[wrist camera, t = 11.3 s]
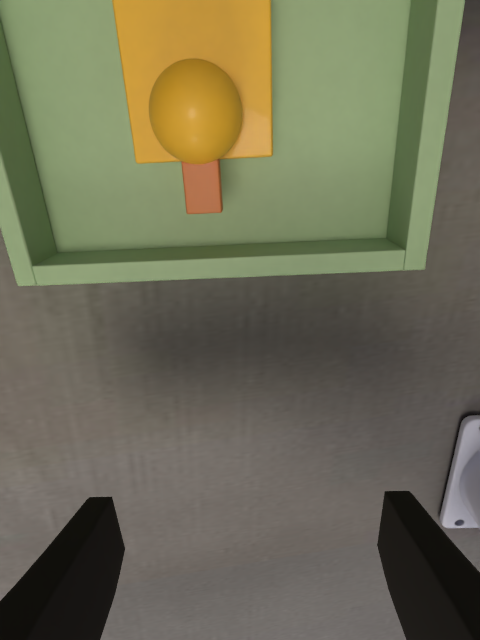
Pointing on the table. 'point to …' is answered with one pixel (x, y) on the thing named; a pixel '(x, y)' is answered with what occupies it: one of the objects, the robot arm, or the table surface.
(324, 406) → the table surface
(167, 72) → the toy duck
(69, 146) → the tray
